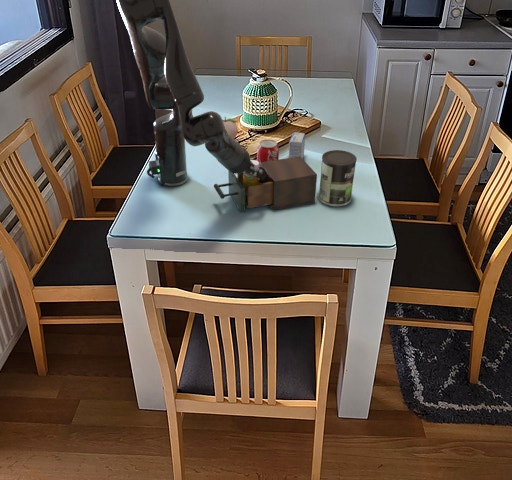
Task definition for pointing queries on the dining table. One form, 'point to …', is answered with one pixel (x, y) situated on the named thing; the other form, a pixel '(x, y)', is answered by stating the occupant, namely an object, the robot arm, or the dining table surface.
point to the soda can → (267, 151)
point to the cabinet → (291, 182)
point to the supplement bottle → (250, 178)
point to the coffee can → (337, 177)
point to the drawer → (255, 193)
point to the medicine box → (297, 145)
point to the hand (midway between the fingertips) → (255, 177)
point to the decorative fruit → (230, 127)
